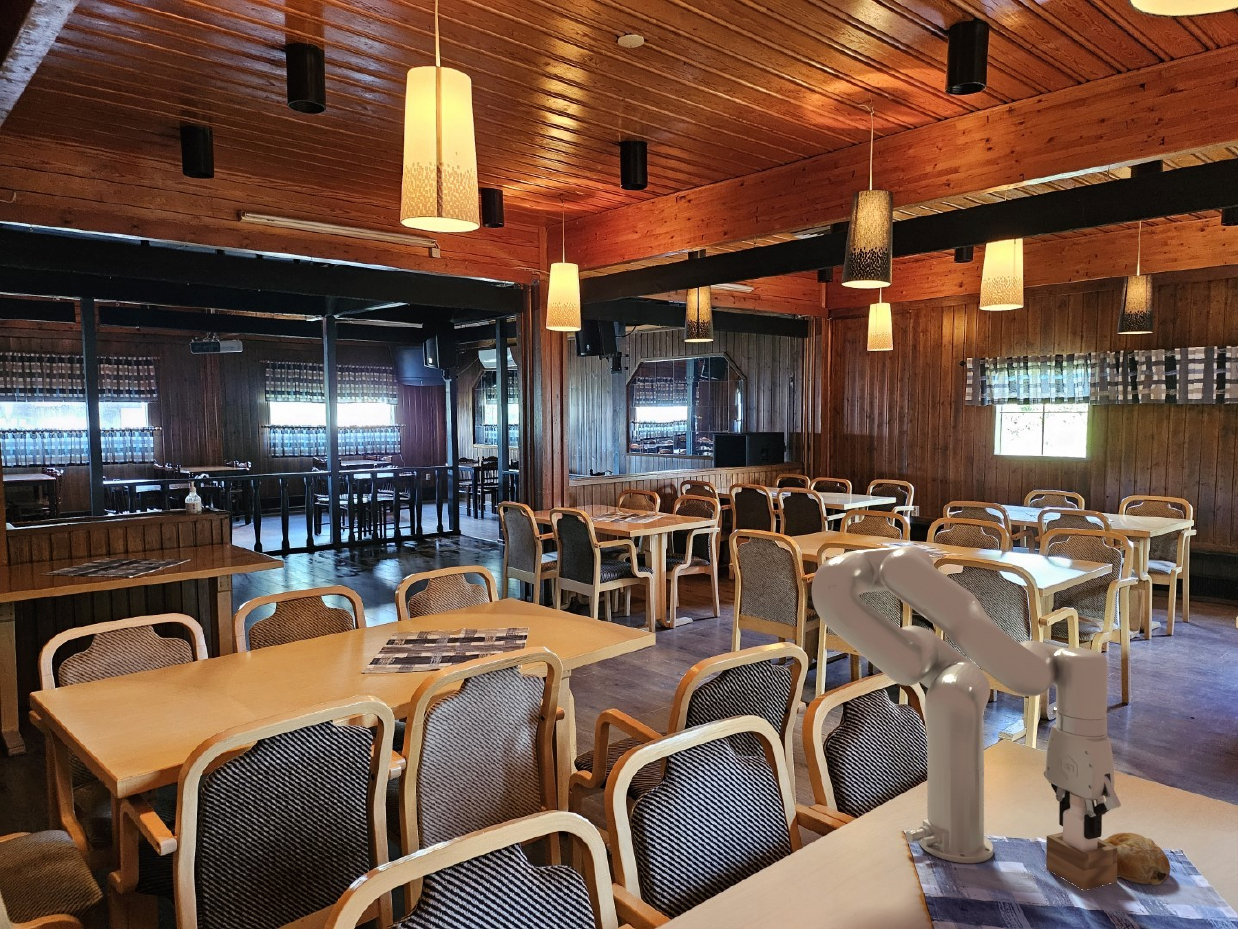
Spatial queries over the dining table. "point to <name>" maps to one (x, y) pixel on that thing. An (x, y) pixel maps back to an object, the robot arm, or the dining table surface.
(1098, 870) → the wooden open box
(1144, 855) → the bread roll
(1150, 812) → the dining table surface
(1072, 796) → the pepper shaker
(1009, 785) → the dining table surface
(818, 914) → the dining table surface
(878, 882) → the dining table surface
